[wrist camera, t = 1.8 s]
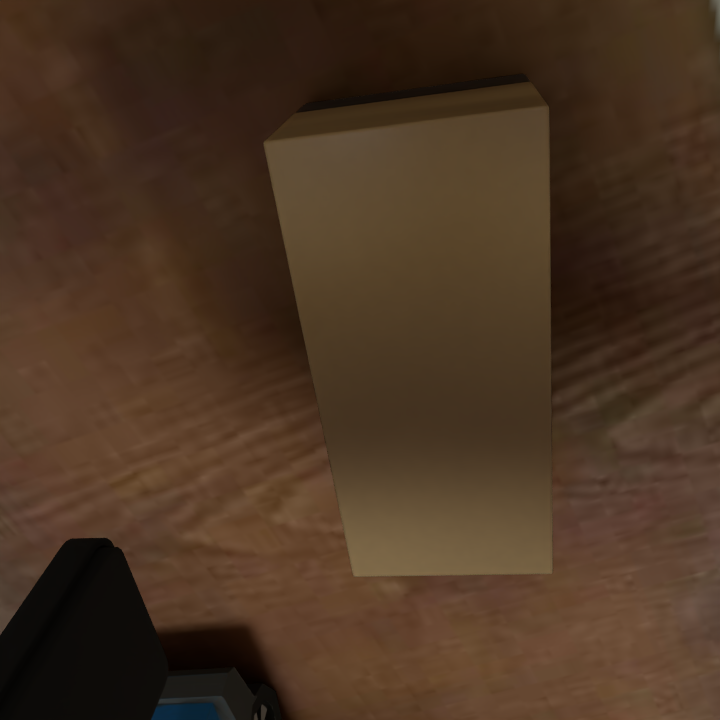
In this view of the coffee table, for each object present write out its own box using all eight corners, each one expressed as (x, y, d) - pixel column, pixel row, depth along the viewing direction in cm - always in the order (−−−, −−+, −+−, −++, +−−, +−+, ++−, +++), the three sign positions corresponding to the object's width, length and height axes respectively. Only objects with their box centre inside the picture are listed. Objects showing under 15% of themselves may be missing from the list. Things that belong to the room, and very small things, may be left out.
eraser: (303, 103, 16) (262, 142, 12) (526, 72, 15) (549, 104, 11) (368, 477, 21) (353, 577, 17) (535, 470, 20) (553, 574, 17)
